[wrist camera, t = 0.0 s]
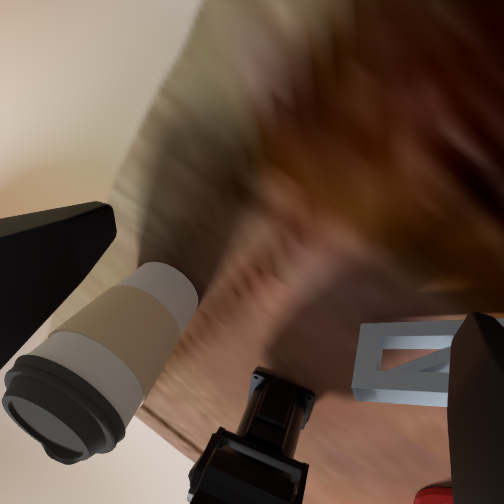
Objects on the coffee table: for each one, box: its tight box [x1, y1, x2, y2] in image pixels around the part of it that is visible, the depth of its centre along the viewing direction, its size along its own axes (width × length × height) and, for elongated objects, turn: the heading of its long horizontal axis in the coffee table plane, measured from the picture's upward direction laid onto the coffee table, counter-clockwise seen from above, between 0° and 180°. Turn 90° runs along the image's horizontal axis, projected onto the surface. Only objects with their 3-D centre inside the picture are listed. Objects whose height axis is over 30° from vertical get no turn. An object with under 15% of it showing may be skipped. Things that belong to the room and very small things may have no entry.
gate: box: [351, 318, 504, 407], centre depth 21 cm, size 11×1×6 cm, turn 113°
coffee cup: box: [2, 262, 198, 465], centre depth 28 cm, size 9×9×15 cm
